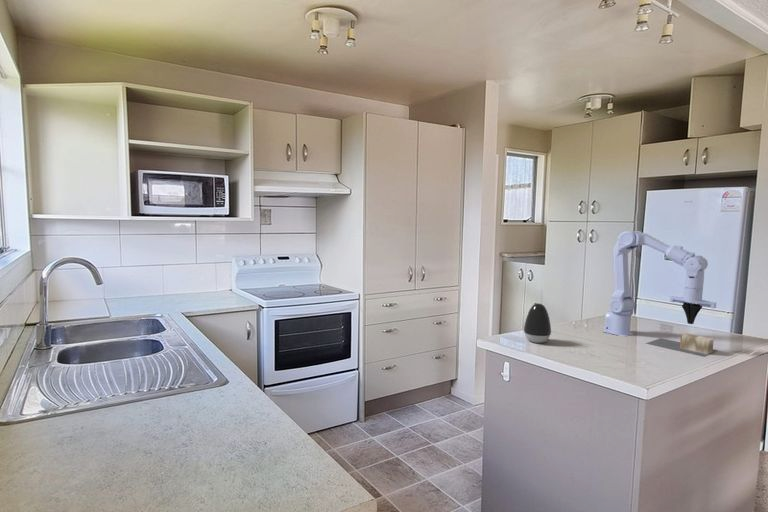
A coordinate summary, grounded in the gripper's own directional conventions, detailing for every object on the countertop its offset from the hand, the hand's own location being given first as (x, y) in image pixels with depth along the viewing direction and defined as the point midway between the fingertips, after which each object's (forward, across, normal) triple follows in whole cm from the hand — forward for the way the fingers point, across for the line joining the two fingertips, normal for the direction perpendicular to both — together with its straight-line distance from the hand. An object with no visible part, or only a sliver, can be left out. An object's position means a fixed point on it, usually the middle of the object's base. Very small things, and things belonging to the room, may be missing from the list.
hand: (690, 323), depth 170 cm
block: (+7, +2, 0) cm, 7 cm away
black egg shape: (+10, +39, +40) cm, 57 cm away
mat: (+10, +2, 0) cm, 10 cm away
